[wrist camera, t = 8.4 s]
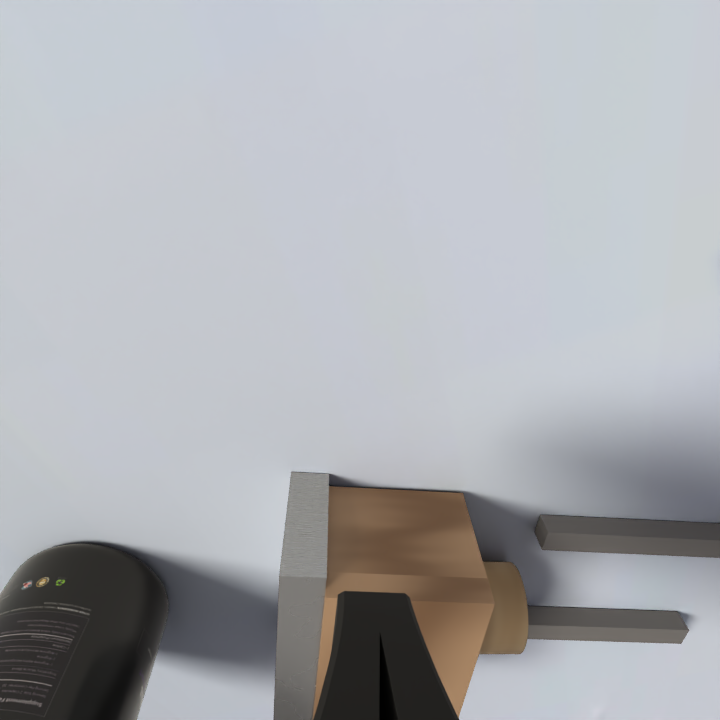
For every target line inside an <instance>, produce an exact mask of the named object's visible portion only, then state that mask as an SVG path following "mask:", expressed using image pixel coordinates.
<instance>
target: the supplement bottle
mask: <svg viewBox="0 0 720 720" xmlns="http://www.w3.org/2000/svg"><path fill="white" fill-rule="evenodd" d="M168 611H169V603H168V597H167V593H166V591H165V588H164V586H163V584H162V582H161V581H160V579H159V578H158V576H157V575H156V574H155V573H154V572H153V571H152V570H151V569H150V568H149V567H148V566H147V565H145V564H144V563H143V562H141V561H140V560H138V559H137V558H135V557H133V556H131V555H130V554H127V553H125V552H123V551H120V550H117V549H114V548H111V547H107V546H102V545H96V544H67V545H61V546H56V547H53V548H50V549H47V550H44V551H42V552H40V553H38V554H36V555H34V556H32V557H31V558H29V559H28V560H27V561H26V562H24V563H23V564H22V565H21V566H20V567H19V568H18V569H17V571H16V572H15V573H14V574H13V576H12V577H11V579H10V580H9V582H8V583H7V585H6V586H5V588H4V589H3V591H2V592H1V594H0V720H137V717H138V714H139V711H140V707H141V704H142V701H143V698H144V694H145V691H146V688H147V685H148V681H149V678H150V675H151V672H152V668H153V665H154V662H155V658H156V655H157V652H158V649H159V645H160V642H161V639H162V635H163V632H164V628H165V625H166V621H167V617H168Z"/></svg>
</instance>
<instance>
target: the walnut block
mask: <svg viewBox="0 0 720 720" xmlns="http://www.w3.org/2000/svg"><path fill="white" fill-rule="evenodd" d="M343 591H361V592H388V593H406V594H407V595H408V596H409V597H410V600H411V603H412V607H413V610H414V613H415V616H416V619H417V622H418V624H419V627H420V630H421V633H422V635H423V638H424V641H425V643H426V646H427V648H428V651H429V653H430V656H431V658H432V661H433V663H434V665H435V668H436V670H437V672H438V675H439V677H440V679H441V682H442V684H443V686H444V688H445V690H446V692H447V695H448V697H449V699H450V701H451V703H452V705H453V708H454V710H455V712H456V714H457V716H458V717H459V714H460V711H461V708H462V705H463V702H464V699H465V696H466V692H467V689H468V686H469V683H470V680H471V677H472V674H473V671H474V667H475V664H476V661H477V658H478V655H479V652H480V649H481V646H482V642H483V639H484V636H485V633H486V630H487V627H488V624H489V621H490V617H491V614H492V611H493V608H494V605H495V603H494V599H493V596H492V592H491V589H490V585H489V582H488V578H487V575H486V571H485V568H484V565H483V561H482V558H481V554H480V551H479V547H478V544H477V540H476V537H475V533H474V530H473V526H472V523H471V520H470V516H469V513H468V509H467V506H466V502H465V499H464V495H463V493H450V492H430V491H411V490H391V489H372V488H353V487H333V486H329V501H328V544H327V580H326V590H325V600H324V610H323V620H322V630H321V640H320V650H319V660H318V670H317V681H316V691H315V701H314V711H313V719H314V716H315V713H316V709H317V706H318V702H319V699H320V695H321V691H322V687H323V683H324V680H325V676H326V672H327V668H328V664H329V660H330V655H331V650H332V641H333V632H334V624H335V615H336V606H337V598H338V594H340V593H341V592H343Z"/></svg>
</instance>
